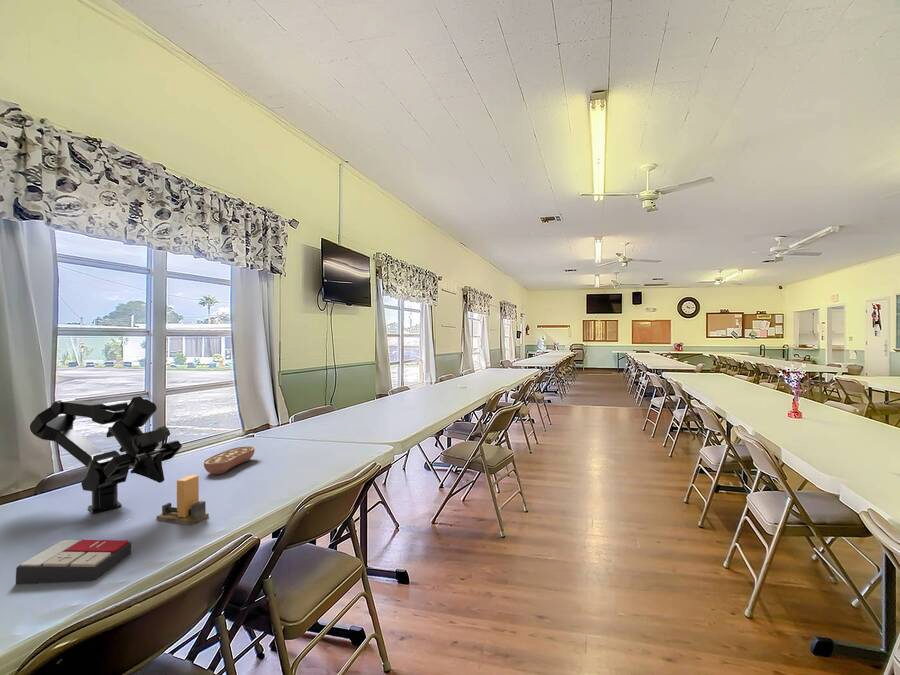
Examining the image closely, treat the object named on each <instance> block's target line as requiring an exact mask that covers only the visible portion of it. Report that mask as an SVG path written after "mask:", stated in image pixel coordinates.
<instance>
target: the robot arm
mask: <svg viewBox="0 0 900 675" xmlns="http://www.w3.org/2000/svg"><path fill="white" fill-rule="evenodd" d="M156 411H157V404H155V403H154V402H152V401H151V400H149V399H146V398H143V397H142V396H140V395H138V396H133V397H132V398H131V399H130V402H129V403H128V402H127V401H125V400H119V401H118V400H117V401H110V402H102V403H101V402H95V401H88V400H87V401H86V400H79V399H78V400H77V399H74V398H69V399H63V400H62V399H61V400H57V401H54V402H53V403H52V404H51V405H50V406H49V407H48V408H46V409H45V410H43V411H41V412H39V413H38V414H36V416H35V418H34V419H33V420H32V421H31V423H30V425H29V430H30V432H31V433H32V435H34V436H35V437H37V438H39V439H41V440H42V441H49V442H55V443H56V444H57V445H59V446H60V447H62V448H63V449H64V450H65V451H66V452H68V453H69V454H70V455H71V456H73V457H74V458H75V459H77V460H78V462H80V463H81V464H82V465H84V466H85V467H86V476H85V478H83V480H82V481H81V483H80V485H81V488H82V490H83V491H86V492H91V505H88V506H87V509H88V510H89V511H90V512H91V513H92V514H97V513H101V512H104V511H105V512H106V511H108V510H113V509H116V508H120V507H122V505H123V504H122V503H121V502H120V501H119V499H118V495H119V494H118V493H119V492H118V484H121V483H125V482H126V481H127V478H128V473H129V472H130V474H136V475H140V476H142V477H145V478H147V479H149V480H152V481H154V482H156V483H159V484H161V483H163V482H164V481H165V475H164V469H163V463H162V462H165V461H168V460H172V459H173V458H174V457H175V456H176V454H177V453H178V452H179V451H180V450H181V449H182V447H183V445H182V444H181V442H180V441H179V440H172V441H168V442H165V443H163V445H162V446H160V448H158V447H159V445H160V443H161V442H163V441H166V440H167V438H168V437H169V436H171V432H170V429H169V428H168V427H167V426H166V425H163V426H159V427H158V428H156V429H155V430H151V431H148V432H143V431H142V429H141V427H144V426H145V425H146V424H147V423H148V421H149V420H151V419H150V418H152V417H153V415H154V414H155V412H156ZM77 417H84V418H89V419H91V420H92V422H94V423H96V424H99V425H108V424H112V425H111V426H109V427H108V430H107V432H106V436H105V437H106V438H112V437H114V439H115V440H116V441H117V443H118V444H119V446H120V448H119V449H118V450H119V451H116V450H111V451H107V452H104V451H102V450H101V449H99V448H98V447H97V446H96V445H94V444H93V443H92V442H90V441H89V440H88V439H87V438H85V437H84V436H83V435H81V434H80V433H79V432H78V431H76V430H75V429H74V422H75V421H76V418H77ZM156 448H158V449H156ZM119 452H120V453H123V454H120V453H119ZM130 466H131V468H132V469H131V470H130ZM129 470H130V471H129Z"/></svg>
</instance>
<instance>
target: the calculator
mask: <svg viewBox="0 0 900 675" xmlns="http://www.w3.org/2000/svg"><path fill="white" fill-rule="evenodd" d="M132 544H133V542H131V541H129V540H127V539H126V540H125V539H124V540H123V539H121V540H120V539H114V540H113V539H81V540H71V539H70V540H67V539H65V540H63V539H62V540H61V541H59V542H57V543H56V544H54V545H52V546H51V547H48V548H46V549H44V550H43V551H41V552H39V553H38V554H36V555H34V556H33V557H31V558H29V559H27V560H26V561H24V562H22V563H20V565H18V566H16V570H15V585H30V584H31V585H32V584H33V585H34V584H39V583H79V582H80V583H81V582H82V583H84V582H85V583H86V582H94V581H97V580H98V579H99V578H101V577H102V576H103V575H104V574H106V573H107V572H109V571H110V570H111V569H112V568H114V567H115V566H117V565H118V564H119V563H122V561H124V560H125V559H126V558H127V557H129V556H130V555H132Z"/></svg>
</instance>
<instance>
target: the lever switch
mask: <svg viewBox="0 0 900 675" xmlns="http://www.w3.org/2000/svg"><path fill="white" fill-rule="evenodd" d="M206 509H207V508H206V500H199V502H197V503H195V504H193V505H191V510H189V516H187V517H179V516H178V511H177V507H174V506H172V502H168V503H165V504H163V505H161V513H160V514H158V515H156V521H160V522H161V521H162V522H168V523H175V524H182V525H190V526H194V525H195V524H197V523H198V524H199V523H200V522H202V521H204V520H206V519H208V518H210V516H209V513H208V512H206Z"/></svg>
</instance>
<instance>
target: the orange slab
mask: <svg viewBox="0 0 900 675" xmlns="http://www.w3.org/2000/svg"><path fill="white" fill-rule="evenodd" d="M199 478H200V477H199V475H195V474H190V475H188V476H185V477H182V478H179V479H177V480H176V508H177V511H178V516H179V517H187V516H189V510H191V505H193V504H195V503H197V502H200V500H199V499H200V498H199V497H200V495H199V493H200V491H199V489H200V484H199V482H200V481H199Z"/></svg>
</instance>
